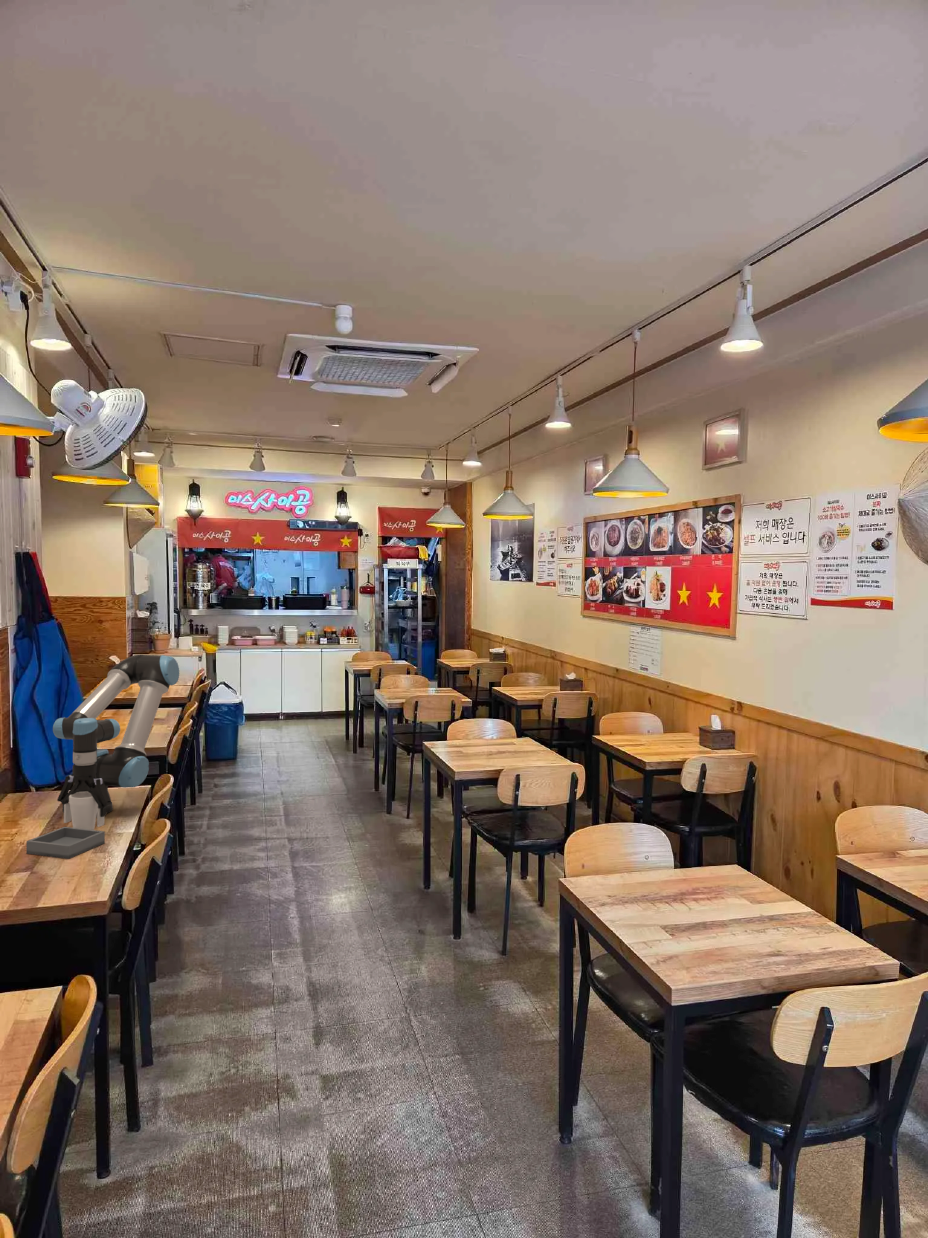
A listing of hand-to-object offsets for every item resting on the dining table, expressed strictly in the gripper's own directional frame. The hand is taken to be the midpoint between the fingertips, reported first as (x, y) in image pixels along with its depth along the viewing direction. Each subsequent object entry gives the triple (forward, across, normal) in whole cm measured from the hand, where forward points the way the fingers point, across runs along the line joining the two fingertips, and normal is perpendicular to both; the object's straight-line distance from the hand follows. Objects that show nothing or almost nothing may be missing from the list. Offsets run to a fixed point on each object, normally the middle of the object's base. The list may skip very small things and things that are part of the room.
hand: (84, 824), depth 265 cm
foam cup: (+3, 0, 0) cm, 3 cm away
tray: (+3, +7, -16) cm, 18 cm away
